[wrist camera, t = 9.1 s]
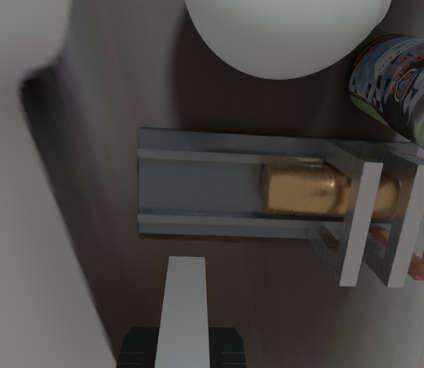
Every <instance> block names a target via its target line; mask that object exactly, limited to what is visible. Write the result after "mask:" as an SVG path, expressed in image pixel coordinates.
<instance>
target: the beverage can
mask: <svg viewBox="0 0 424 368" xmlns="http://www.w3.org/2000/svg"><path fill="white" fill-rule="evenodd" d="M347 88H348V93H349V96H350V99H351V100H352V102H353V103H354V105H355V106H356V107H357V108H359V109H360V110H362V111H363V112H365V113H367V114H368V115H370V116H371V117H373V118H375V119H376V120H378V121H379V122H381V123H383V124H384V125H386V126H387V127H389V128H391V129H392V130H394V131H395V132H397V133H399V134H400V135H402V136H403V137H405V138H407V139H408V140H410V141H411V142H413V143H415V144H416V145H418V146H419V147H421V148H423V149H424V38H419V37H413V36H406V35H400V34H391V35H385V36H382V37H380V38H377V39H375V40H374V41H372V42H370V43H369V44H368V45H366V46H365V47H364V48H363V49H362V50H361V51H360V52H359V53H358V55H357V56H356V58H355V59H354V61H353V63H352V65H351V67H350V70H349V73H348V79H347Z"/></svg>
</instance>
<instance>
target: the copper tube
mask: <svg viewBox="0 0 424 368" xmlns="http://www.w3.org/2000/svg"><path fill="white" fill-rule="evenodd" d="M351 182H352V179H351V178H350V177H348V176H347V175H345V174H344V173H343V172H341V171H340V170H338V169H337V168H335V167H334V166H327V165H309V164H291V163H273V162H267V163H266V164H265V166H264V168H263V172H262V178H261V191H260V195H261V206H262V210H263V212H264V213H272V214H294V215H316V216H338V217H345V212H346V207H347V202H348V197H349V192H350V187H351ZM401 184H402V181H400V180H398V179H397V178H395V177H393V176H391V175H389V174H387V173H386V172H384V171H381V176H380V180H379V185H378V189H377V194H376V198H375V203H374V207H373V212H372V216H371V218H382V219H390V220H393V217H394V213H395V209H396V205H397V201H398V197H399V193H400V189H401Z"/></svg>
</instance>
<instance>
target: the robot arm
mask: <svg viewBox="0 0 424 368" xmlns="http://www.w3.org/2000/svg"><path fill="white" fill-rule="evenodd" d="M116 368H247V365H246V359H245V354H244V347H243V341H242V338H241V337H240V335H239V334H238V332H237V331H236V329H235V328H219V327H208V316H207V294H206V272H205V257H178V256H169V262H168V270H167V278H166V285H165V293H164V300H163V308H162V315H161V323H160V327H132V328H131V330H130V331H129V332H128V333H127V335H126V336H125V337H124V339H123V343H122V347H121V351H120V355H119V359H118V364H117V367H116Z"/></svg>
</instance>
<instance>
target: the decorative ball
mask: <svg viewBox="0 0 424 368" xmlns="http://www.w3.org/2000/svg"><path fill="white" fill-rule="evenodd" d="M185 2H186V6H187V9H188V12H189V14H190V17H191V19H192V21H193V24H194V26H195V27H196V29H197V31H198V33H199V34H200V36H201V37H202V39H203V40H204V42H205V43H206V44H207V45H208V47H209V48H210V49H211V50H212V51H213V52H214V53H215V54H216V55H217V56H218V57H219V58H221V59H222V60H223V61H225V62H226V63H227V64H229V65H230V66H232V67H234V68H236V69H237V70H239V71H242V72H244V73H246V74H249V75H252V76H256V77H260V78H266V79H292V78H298V77H303V76H306V75H310V74H313V73H315V72H318V71H320V70H323V69H325V68H327V67H329V66H331V65H332V64H334V63H336V62H337V61H339V60H340V59H342V58H343V57H344V56H346V55H347V54H349V53H350V52H351V51H352V50H353V49H355V48H356V47H357V46H358V45H359V44H360V43H361V42H362V41H363V40H364V39H365V38H366V37H367V36H368V35H369V34H370V32H371V31H372V30H373V29H374V28H375V27H376V26H377V25H378V24H379V23H380V22H381V21H382V20H383V18H384V17H385V15H386V13H387V11H388V8H389V6H390V3H391V0H185Z"/></svg>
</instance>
